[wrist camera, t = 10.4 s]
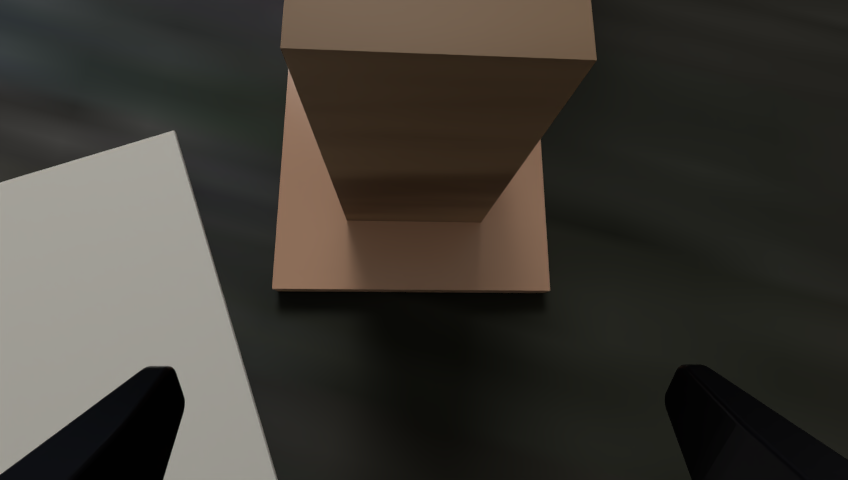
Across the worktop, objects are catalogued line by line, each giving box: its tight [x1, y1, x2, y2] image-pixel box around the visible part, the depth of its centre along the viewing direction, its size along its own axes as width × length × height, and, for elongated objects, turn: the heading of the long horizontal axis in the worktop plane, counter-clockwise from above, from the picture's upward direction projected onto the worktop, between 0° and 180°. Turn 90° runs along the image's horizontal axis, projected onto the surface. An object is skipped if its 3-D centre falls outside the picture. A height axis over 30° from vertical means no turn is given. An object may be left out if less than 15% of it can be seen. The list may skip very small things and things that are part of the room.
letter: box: [0, 131, 278, 480], centre depth 15 cm, size 20×14×1 cm
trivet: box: [272, 70, 550, 293], centre depth 18 cm, size 10×10×1 cm
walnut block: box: [281, 0, 597, 223], centre depth 13 cm, size 5×5×10 cm
